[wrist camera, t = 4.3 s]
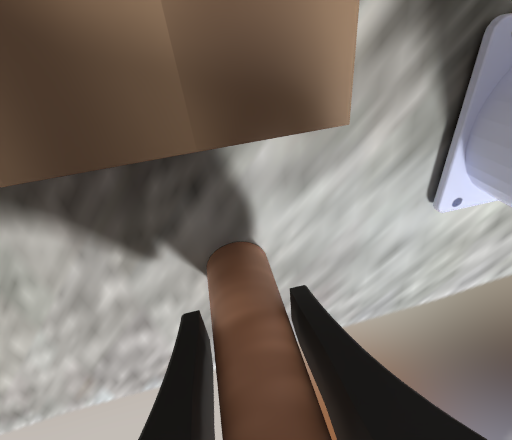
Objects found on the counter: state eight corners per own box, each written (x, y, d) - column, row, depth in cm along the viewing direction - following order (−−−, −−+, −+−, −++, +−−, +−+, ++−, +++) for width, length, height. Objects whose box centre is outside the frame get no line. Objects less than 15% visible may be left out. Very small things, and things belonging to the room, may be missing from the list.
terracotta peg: (264, 235, 13) (339, 434, 7) (269, 279, 15) (333, 470, 9) (200, 249, 13) (216, 470, 7) (213, 292, 15) (236, 500, 8)
